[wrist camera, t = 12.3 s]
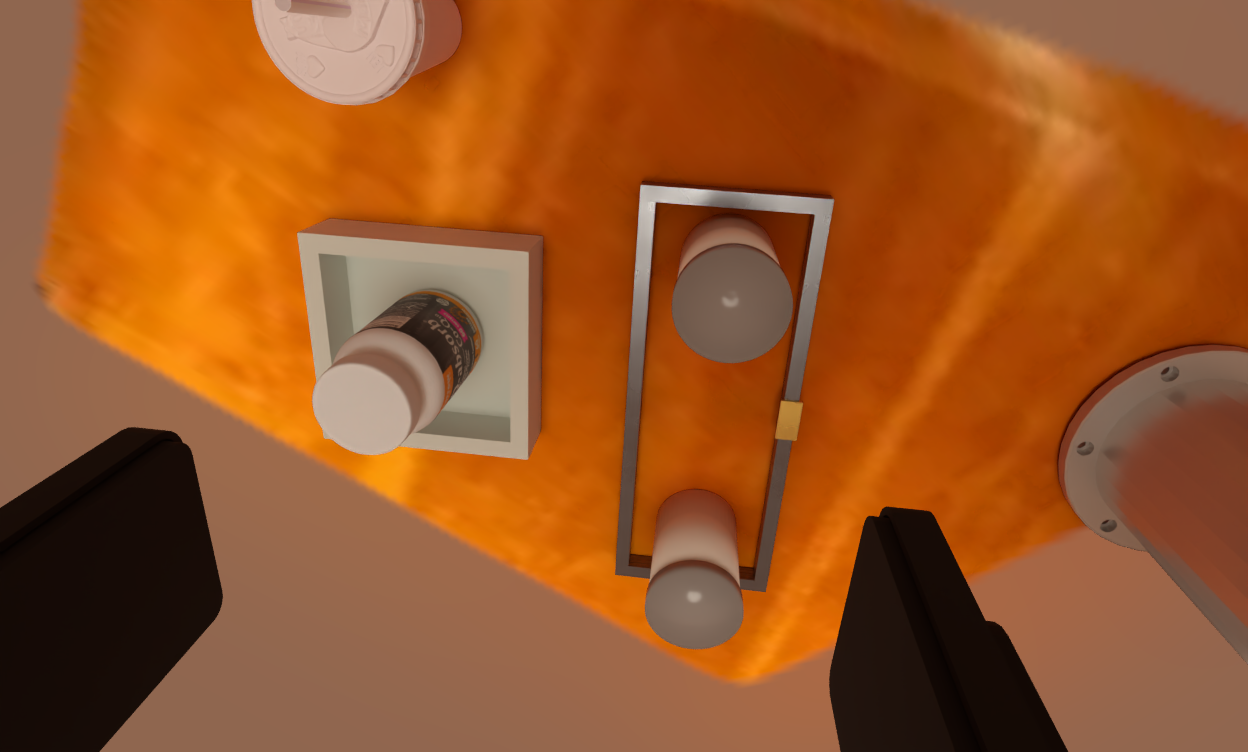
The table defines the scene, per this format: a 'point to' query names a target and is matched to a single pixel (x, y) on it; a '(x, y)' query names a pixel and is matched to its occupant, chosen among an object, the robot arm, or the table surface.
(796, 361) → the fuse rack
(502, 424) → the tray
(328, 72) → the smoothie
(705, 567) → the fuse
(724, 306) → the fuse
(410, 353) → the pill bottle
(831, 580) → the table surface
